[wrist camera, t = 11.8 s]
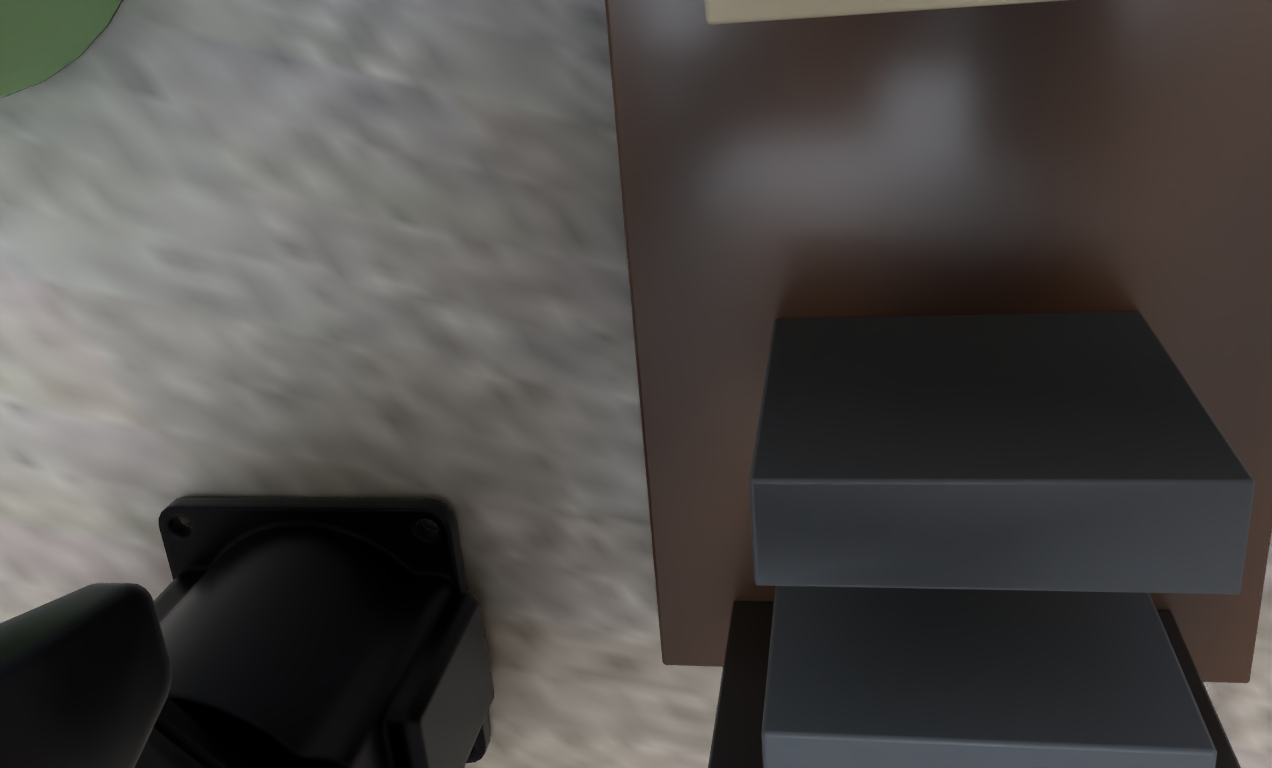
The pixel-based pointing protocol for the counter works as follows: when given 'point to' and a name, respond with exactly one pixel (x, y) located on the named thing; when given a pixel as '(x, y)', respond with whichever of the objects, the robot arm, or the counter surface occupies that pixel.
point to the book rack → (932, 247)
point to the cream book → (827, 8)
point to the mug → (46, 37)
